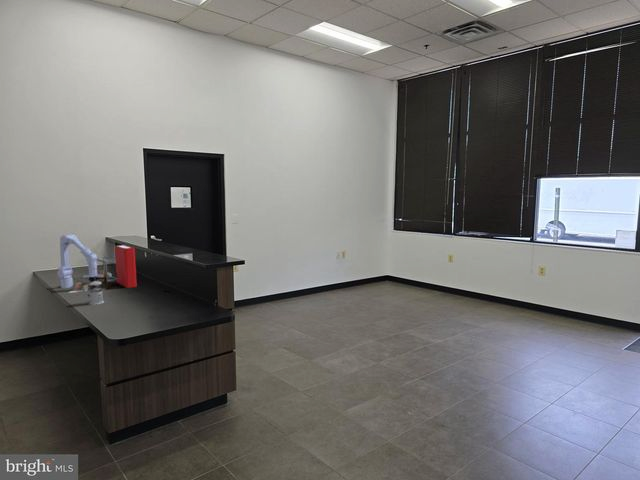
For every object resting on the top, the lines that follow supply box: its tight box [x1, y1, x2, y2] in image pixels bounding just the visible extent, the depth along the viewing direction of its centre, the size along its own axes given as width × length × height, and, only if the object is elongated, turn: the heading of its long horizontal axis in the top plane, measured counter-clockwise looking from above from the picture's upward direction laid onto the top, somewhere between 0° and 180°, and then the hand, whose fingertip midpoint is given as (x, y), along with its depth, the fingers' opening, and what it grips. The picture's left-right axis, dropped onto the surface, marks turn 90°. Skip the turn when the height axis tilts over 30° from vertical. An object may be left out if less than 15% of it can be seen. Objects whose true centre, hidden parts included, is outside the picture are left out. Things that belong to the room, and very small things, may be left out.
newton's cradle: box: [96, 256, 117, 282], centre depth 372 cm, size 30×10×18 cm, turn 48°
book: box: [114, 243, 138, 289], centre depth 348 cm, size 27×8×32 cm, turn 41°
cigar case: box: [97, 268, 108, 284], centre depth 353 cm, size 11×2×12 cm, turn 124°
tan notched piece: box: [73, 281, 93, 291], centre depth 329 cm, size 6×12×6 cm, turn 98°
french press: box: [88, 268, 105, 306], centre depth 293 cm, size 10×12×25 cm
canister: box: [74, 282, 83, 291], centre depth 329 cm, size 4×4×4 cm
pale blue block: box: [67, 284, 89, 294], centre depth 321 cm, size 6×12×6 cm, turn 98°
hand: (94, 286), depth 330 cm, fingers closed
